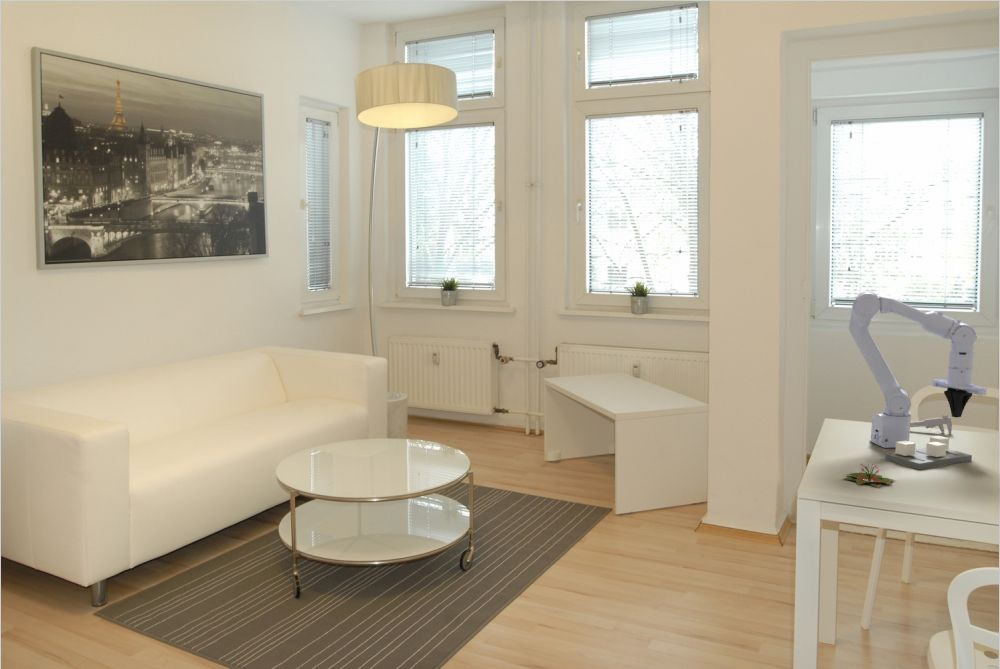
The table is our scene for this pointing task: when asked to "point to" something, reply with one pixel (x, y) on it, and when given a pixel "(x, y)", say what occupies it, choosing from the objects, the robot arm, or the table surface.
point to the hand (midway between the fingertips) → (956, 416)
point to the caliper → (934, 423)
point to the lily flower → (869, 477)
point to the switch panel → (928, 459)
